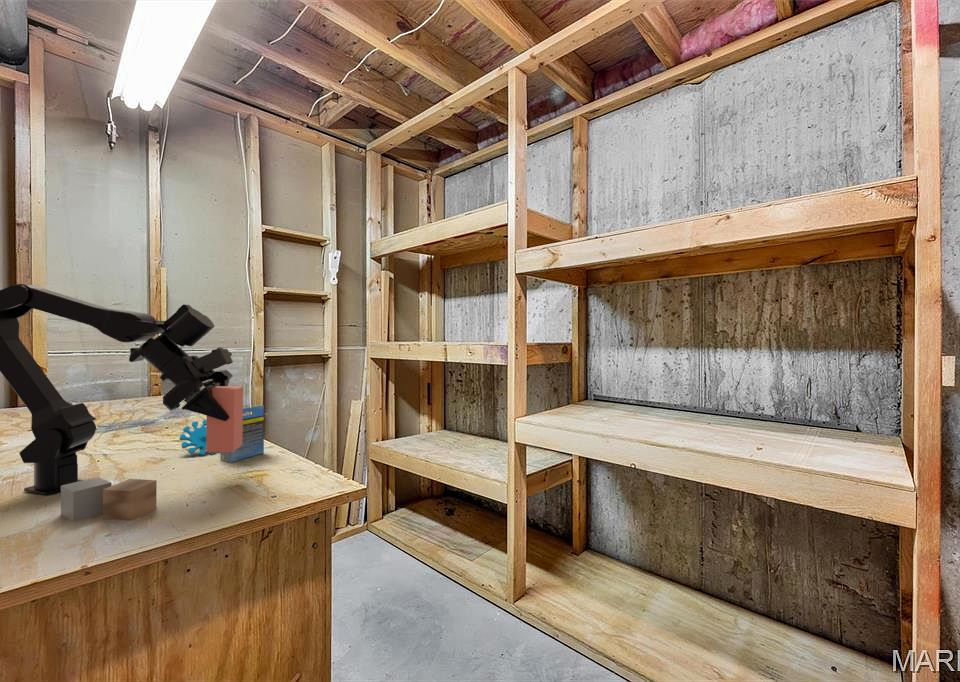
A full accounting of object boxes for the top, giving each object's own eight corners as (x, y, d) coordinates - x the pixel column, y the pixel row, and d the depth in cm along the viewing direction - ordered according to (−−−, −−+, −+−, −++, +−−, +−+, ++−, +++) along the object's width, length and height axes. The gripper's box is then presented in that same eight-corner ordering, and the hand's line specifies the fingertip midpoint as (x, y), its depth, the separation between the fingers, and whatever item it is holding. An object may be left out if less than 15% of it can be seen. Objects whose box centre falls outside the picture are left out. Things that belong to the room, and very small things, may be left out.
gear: (177, 453, 101) (183, 417, 107) (174, 465, 104) (180, 430, 110) (230, 452, 107) (233, 419, 113) (226, 464, 110) (229, 431, 116)
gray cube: (60, 515, 72) (60, 485, 72) (98, 504, 76) (98, 476, 76) (73, 522, 69) (73, 492, 69) (111, 511, 74) (111, 482, 74)
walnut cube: (102, 519, 71) (102, 489, 70) (129, 506, 76) (129, 478, 75) (131, 521, 70) (131, 491, 70) (156, 508, 75) (156, 480, 75)
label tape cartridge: (254, 451, 109) (255, 403, 109) (264, 453, 108) (264, 405, 107) (219, 460, 101) (220, 408, 101) (229, 463, 100) (230, 410, 99)
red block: (206, 452, 85) (206, 389, 85) (216, 445, 90) (217, 386, 90) (233, 451, 86) (234, 390, 86) (242, 444, 91) (243, 386, 91)
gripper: (182, 336, 77) (247, 396, 80) (223, 333, 96) (275, 383, 98) (132, 379, 76) (200, 439, 79) (183, 368, 94) (237, 417, 97)
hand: (232, 416), depth 88 cm, fingers closed on red block, 5 cm apart
